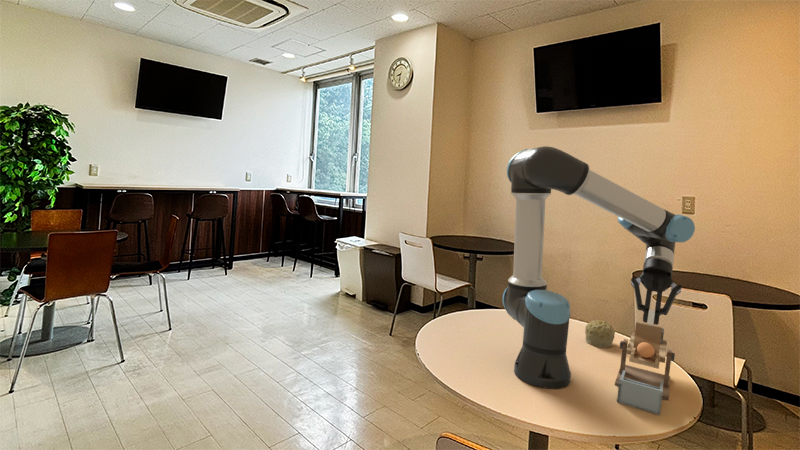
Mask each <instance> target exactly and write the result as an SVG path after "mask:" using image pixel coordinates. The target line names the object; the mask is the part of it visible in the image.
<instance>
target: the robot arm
mask: <svg viewBox="0 0 800 450" xmlns="http://www.w3.org/2000/svg"><path fill="white" fill-rule="evenodd" d="M506 175H507V178H508V181H509V182H510V184H511V187H510V189H511V190H510V194H511V195H512V196H513V197H514V199H515V213H514V214H515V215H514V216H515V219H514V243H513V244H514V246H513V247H514V249H513V270H512V272H513V274H512V275H511V276H510V277H509V278H507V287H506V288H505V289H504V291H503V294H502V305H503V307H504V310H505V311H506V312H507V313H506V314H508V315H509V316H510V317H511V318H512V319H513V320H514V321H516V322H517V323H518V324H519V325H520V326H521V327H522V328H523V334H522V335H523V336H522V346H521V348H520V350H519V353H518V355H517V357H516V359H515V362H514V367H513V372H514V374H515V376H516V377H517V378H518V379H519V380H521V381H523V382H524V383H527V384H529V385H532V386H535V387H538V388H543V389H551V390H552V389H564V388H566V387H569V385H570V384H571V381H572V380H571V378H572V372H571V370H570V364H569V360H568V356H567V347H568V337H569V336H568V335H569V327H570V318H571V305H570V301H569V300H568V299H567V298H566V297H565V296H563V295H562V294H560V293H558V292H554V291H552V290H547V289H548V282H547V281H546V280H545V278H543V263H544V260H543V257H544V239H545V238H544V237H545V219H546V218H545V217H546V216H545V215H546V199H547V198H548V197H550V196H551V195H552V190H554V191H558V192H560V193H563V194H565V195H566V196H573V195H575V196H577V197H579V198H581V199H583V200H585V201H586V202H589V203H591V204H593V205H595V206H597V207H599V208H601V209H603V210H604V211H607V212H609V213H611V214H612V215H615V216H617V221H618V224H619V225H621V227H623V229H625V230H626V231H627V232H629V233H631V234H632V235H633V236H634V237H636V238H637V239H638V240H640V241H641V242H642V243H643V244H645V253H644V260H643V267H642V272H641V274H640V275H639V277H637V278H635V277H631V279H630V284H631V287H632V288H633V291H634V296H635V302H636V303H635V304H636V309H637V311H641V312H643V316H642V323H645V324H650V325H655V326H659V322H660V316H662V315H664V316H668V313H670V309H671V307H672V305H673V304H674V301H675V299H676V297H677V296H678V295H679V294H680V293H681V292H682V285H681V284H676V283H675V282H674V280H673V270H674V269H673V268H674V259H675V251H676V249H675V248H676V243H685V242H687V241H689V240H690V239H691V238H692V237H693V236H694V233H695V231H696V230H695V229H696V225H695V223H694V221H693V218H691V217H690V216H686V215H683V214H675V213H672V212H670V211H669V210H667V209H664V208H663V207H661V206H659V205H656V204H655V203H653V202H651V201H649V200H647V199H646V198H643V197H642V196H640V195H638V194H636V193H635V192H633V191H630V190H629V189H627V188H625V187H623V186H621V185H620V184H617V183H615V182H614V181H612V180H610V179H608V178H606V177H604V176H602V175H601V174H598V172H595V171H593V170H591V168H590V166H589V164H588V163H586V162H584V161H583V160H581V159H579V158H577V157H575V156H573V155H571V154H570V153H567V152H565V151H563V150H561V149H559V148H556V147H553V146H549V145H548V146H538V147H533V148H526V149H523V150H521V151H519V152H517V153H516V154H514V155H513V156H512V157H511V158H510V160H509V161H508V163H507V167H506ZM641 285H643V286H644V288H645V290H646V292H645V293H646V295H645V302H644V304H643V302H642V301H643V300H642V294H641V288H640V286H641ZM669 288H670V290H671V291H670V293H669V295H668V297H667V299H666V301H665V303H664V306H663V307H661V306H662V296H663V293H664V292H666V291H667V290H668V289H669ZM653 292H656V300H655V309H654V310H652V309H650V308H651V302H652V301H651V300H652V295H653Z"/></svg>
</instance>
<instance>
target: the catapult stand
mask: <svg viewBox="0 0 800 450" xmlns="http://www.w3.org/2000/svg"><path fill="white" fill-rule="evenodd" d="M628 344H629V339H626V338H624V339H623V340H620V342H619V350H620V349H621V357H620V358H621V359H620V365H619V369H618V372H617V376H616V378H615V381H614V386H616V387H619V379H620V378H621V375H622V372H623V370H624V371H626V372H625V378H627V379H630V380H634V381H638V382H641V383H645V384H649V385H652V386H656V387H659V388H660V382H661V380H662V381H663V394H662V400H664V401H669V400H670V386H671V385H670V384H671V383H670V382H671V376H670V371H671V362H675V356H676V353H675V352H673V349H672V348H667V349H666V357H665V366H664V374H662V373H660V372H659V373H658V372H656V371H651V370H648V369H643V368H640V367H637V366H636V367H635V366H631V365H627V364H626V362H627V361H626V360H627V354H626V351H627V347H628Z"/></svg>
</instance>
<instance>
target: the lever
mask: <svg viewBox="0 0 800 450" xmlns="http://www.w3.org/2000/svg"><path fill="white" fill-rule="evenodd" d="M664 334H665V328H663V326H659V325H655V324H654V325H650V324H647V323H646V322H639V321H636V322H635V331H634V332H632V333H631V336H630V338H629V340H628V345H627V351H626V355H630V356H629V363H634V364H638V365H641V366H644V367H645V366H646V367H650V368H653V369H657V370H658V369H660V363H662V364H666V358H667V343H668V340H667V339H664V336H665V335H664ZM642 342H647V343H649V344H651V345H652V346H653V347H654V350H655V352H654V355H653V356H652V357H650V358H644V357H642V356H640V355H639V354H638V352H637V346H638V345H639V344H640V343H642Z"/></svg>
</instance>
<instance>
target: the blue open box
mask: <svg viewBox="0 0 800 450" xmlns="http://www.w3.org/2000/svg"><path fill="white" fill-rule="evenodd" d="M625 372H626V371H624V370H623V372H622V375H621V378H620V379H619V386H617V387H618V388H617V398H616V402H617V403H618V404H622V405H625V406H628V407H632V408H635V409H638V410H642V411H645V412H648V413H652V414H655V415H658V416H660V415H661V410H662V403H663V402H662V401H663V399H662V394H663V381H662V380H661V382H660V388H659V387H656V386H652V385H649V384H645V383H641V382H638V381H634V380H630V379H627V378H625Z"/></svg>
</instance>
